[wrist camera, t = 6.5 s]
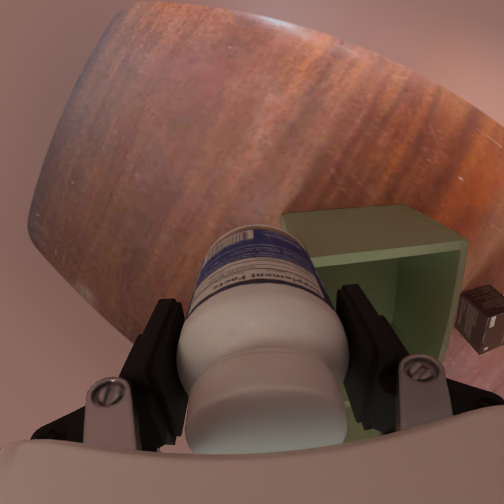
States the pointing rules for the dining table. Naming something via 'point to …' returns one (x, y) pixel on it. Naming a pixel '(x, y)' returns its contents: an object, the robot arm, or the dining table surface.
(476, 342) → the box
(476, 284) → the dining table surface
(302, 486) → the robot arm
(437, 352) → the chest
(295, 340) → the pill bottle
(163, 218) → the dining table surface
